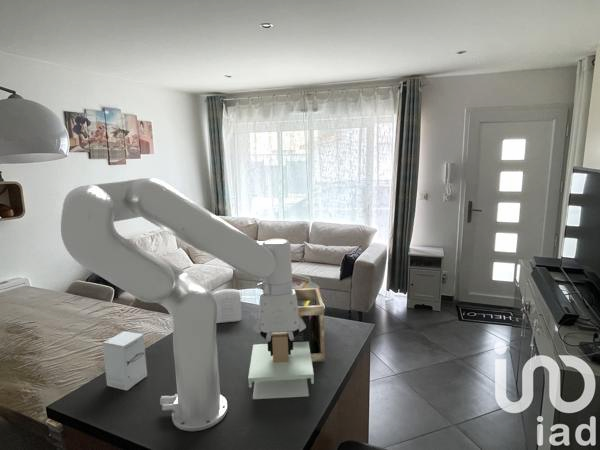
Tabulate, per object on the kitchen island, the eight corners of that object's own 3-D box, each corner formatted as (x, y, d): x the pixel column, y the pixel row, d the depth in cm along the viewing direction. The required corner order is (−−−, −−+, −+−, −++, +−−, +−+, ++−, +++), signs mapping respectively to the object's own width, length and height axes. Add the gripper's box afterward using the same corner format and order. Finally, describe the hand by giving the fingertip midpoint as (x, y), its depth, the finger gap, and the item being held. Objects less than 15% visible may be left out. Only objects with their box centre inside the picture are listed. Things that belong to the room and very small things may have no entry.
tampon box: (311, 359, 107) (310, 312, 105) (281, 356, 109) (279, 311, 107) (316, 341, 118) (316, 299, 116) (289, 339, 120) (288, 297, 117)
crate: (277, 363, 105) (275, 308, 103) (277, 337, 121) (276, 289, 118) (324, 361, 106) (324, 306, 103) (319, 336, 122) (318, 288, 119)
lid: (248, 387, 87) (246, 351, 86) (253, 352, 104) (251, 321, 102) (314, 383, 88) (312, 347, 87) (308, 349, 105) (307, 318, 103)
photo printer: (241, 317, 139) (239, 286, 137) (242, 321, 135) (240, 290, 133) (214, 319, 137) (212, 288, 135) (213, 324, 133) (211, 292, 131)
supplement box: (127, 391, 94) (122, 346, 92) (106, 386, 96) (101, 342, 94) (148, 376, 100) (144, 333, 98) (128, 371, 103) (123, 330, 101)
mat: (252, 399, 89) (252, 397, 89) (256, 368, 103) (256, 367, 103) (308, 396, 90) (308, 394, 90) (305, 365, 104) (305, 364, 104)
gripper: (243, 293, 88) (247, 362, 91) (311, 290, 89) (313, 358, 92) (246, 283, 96) (250, 347, 99) (308, 280, 96) (310, 344, 99)
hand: (280, 352), depth 95 cm, fingers closed on lid, 4 cm apart
